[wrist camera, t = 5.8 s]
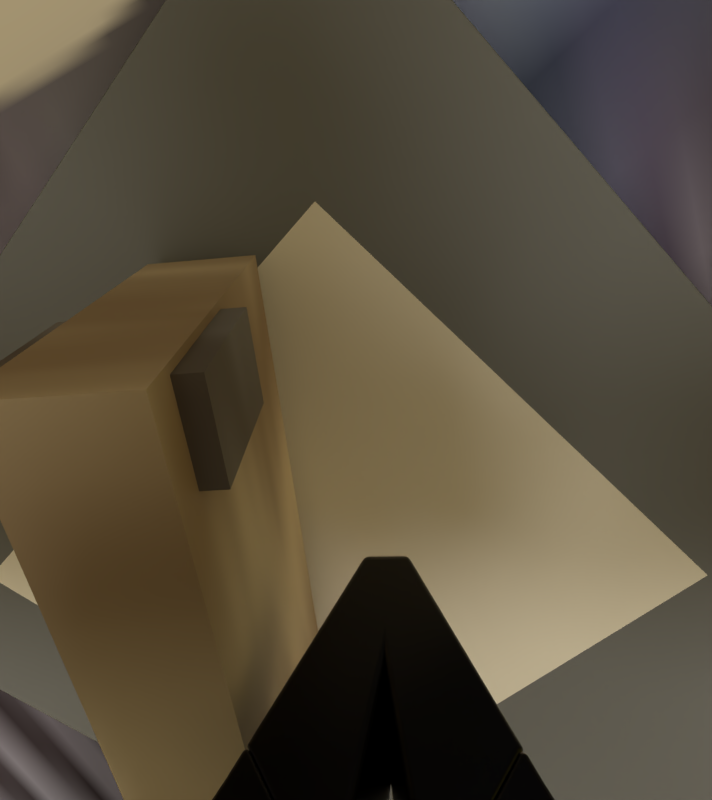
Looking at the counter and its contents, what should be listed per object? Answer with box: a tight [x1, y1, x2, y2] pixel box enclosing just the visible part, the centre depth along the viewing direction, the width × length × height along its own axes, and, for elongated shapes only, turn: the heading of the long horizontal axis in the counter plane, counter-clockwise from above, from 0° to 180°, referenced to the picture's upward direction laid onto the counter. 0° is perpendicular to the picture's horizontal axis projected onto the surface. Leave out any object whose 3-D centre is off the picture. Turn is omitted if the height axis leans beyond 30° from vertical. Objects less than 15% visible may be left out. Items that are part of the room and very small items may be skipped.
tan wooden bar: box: [0, 255, 318, 800], centre depth 10 cm, size 15×2×4 cm, turn 5°
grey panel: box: [0, 0, 712, 800], centre depth 14 cm, size 16×30×1 cm, turn 47°
